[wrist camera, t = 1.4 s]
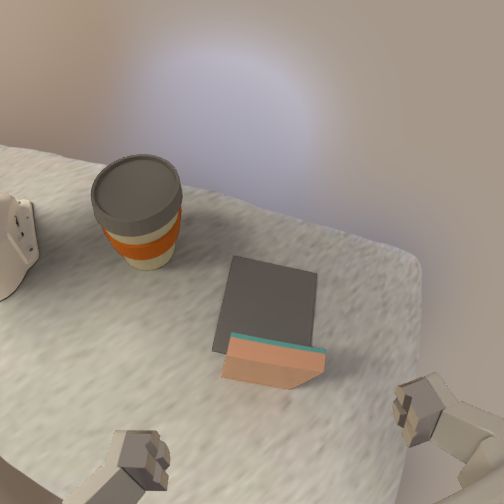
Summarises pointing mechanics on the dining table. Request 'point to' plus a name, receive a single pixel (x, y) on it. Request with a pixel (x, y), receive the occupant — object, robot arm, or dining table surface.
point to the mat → (266, 303)
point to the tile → (271, 362)
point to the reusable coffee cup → (139, 208)
